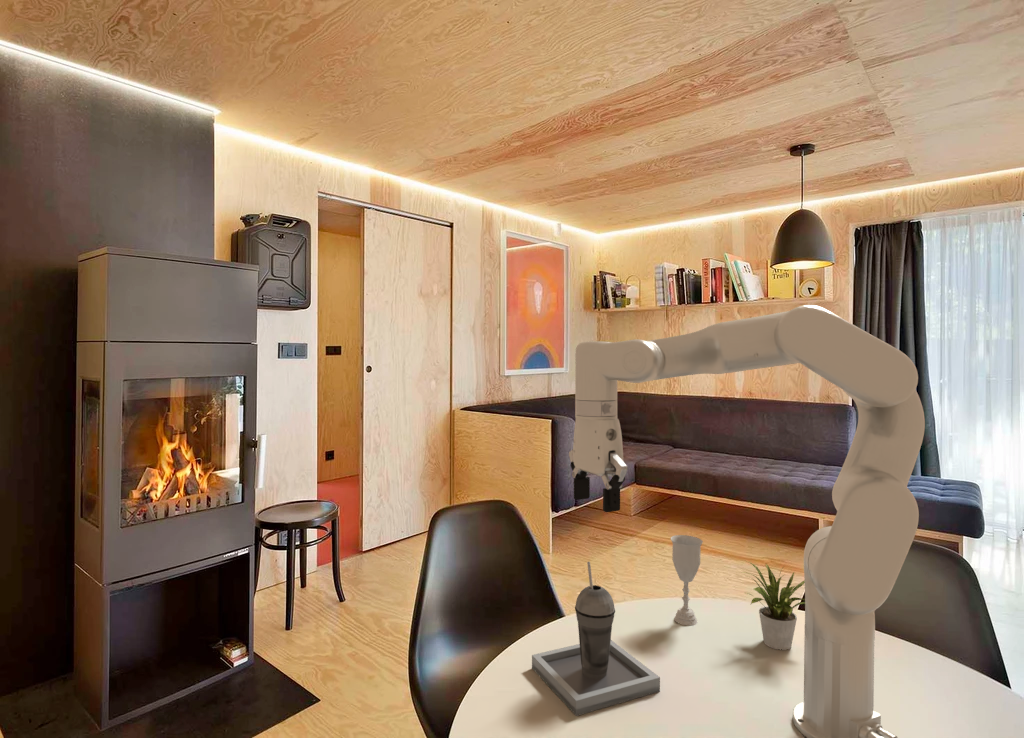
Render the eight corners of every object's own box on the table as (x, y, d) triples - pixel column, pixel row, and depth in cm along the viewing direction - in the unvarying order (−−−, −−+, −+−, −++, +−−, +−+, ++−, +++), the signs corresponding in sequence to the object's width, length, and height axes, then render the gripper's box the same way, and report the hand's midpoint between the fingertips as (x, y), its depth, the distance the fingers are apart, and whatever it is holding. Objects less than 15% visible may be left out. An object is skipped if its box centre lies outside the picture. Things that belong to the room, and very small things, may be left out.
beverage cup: (614, 685, 100) (615, 571, 100) (572, 680, 102) (573, 568, 101) (615, 664, 107) (616, 557, 107) (576, 659, 109) (576, 554, 109)
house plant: (719, 636, 121) (720, 559, 121) (758, 620, 129) (759, 548, 129) (783, 667, 109) (784, 581, 109) (822, 647, 117) (823, 567, 117)
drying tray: (659, 691, 101) (660, 677, 101) (576, 715, 94) (576, 700, 94) (607, 649, 115) (607, 637, 115) (531, 668, 108) (531, 654, 108)
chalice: (663, 615, 131) (664, 536, 131) (689, 611, 133) (689, 533, 133) (682, 629, 124) (682, 546, 124) (708, 625, 126) (709, 543, 126)
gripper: (643, 413, 98) (642, 513, 98) (588, 406, 113) (587, 493, 113) (605, 414, 94) (605, 518, 95) (554, 407, 110) (554, 496, 110)
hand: (596, 504), depth 104 cm, fingers open, 9 cm apart
